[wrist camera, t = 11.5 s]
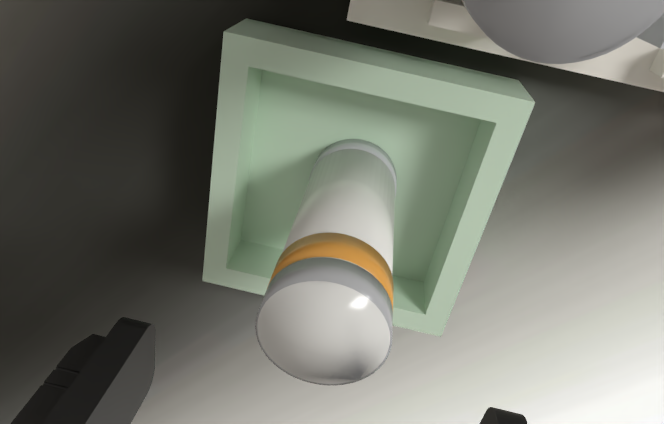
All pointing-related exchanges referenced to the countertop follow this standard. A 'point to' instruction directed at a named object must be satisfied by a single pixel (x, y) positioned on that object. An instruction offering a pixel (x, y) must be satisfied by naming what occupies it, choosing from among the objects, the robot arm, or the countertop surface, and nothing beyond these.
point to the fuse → (563, 26)
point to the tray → (366, 124)
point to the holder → (460, 29)
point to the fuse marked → (335, 271)
